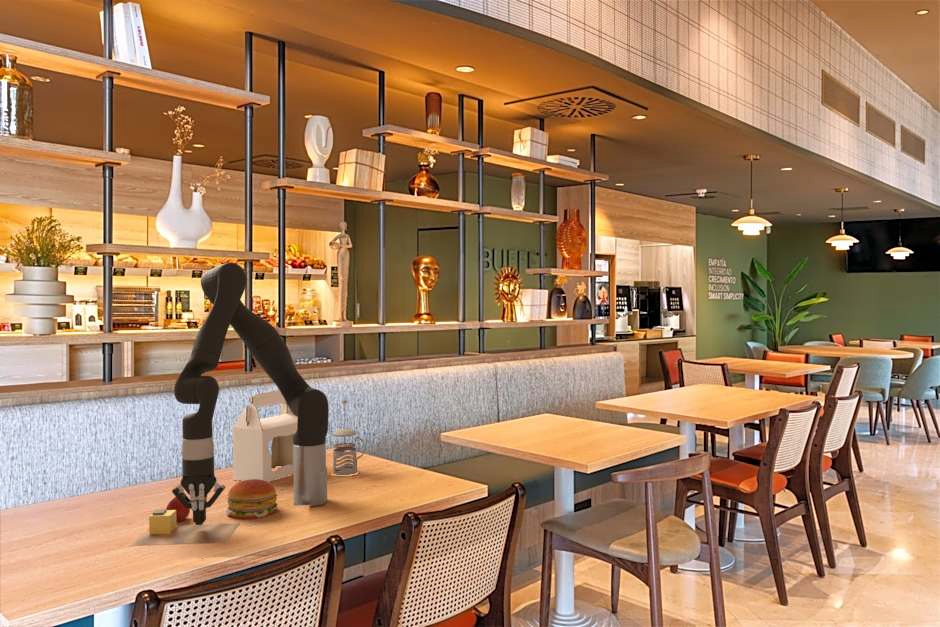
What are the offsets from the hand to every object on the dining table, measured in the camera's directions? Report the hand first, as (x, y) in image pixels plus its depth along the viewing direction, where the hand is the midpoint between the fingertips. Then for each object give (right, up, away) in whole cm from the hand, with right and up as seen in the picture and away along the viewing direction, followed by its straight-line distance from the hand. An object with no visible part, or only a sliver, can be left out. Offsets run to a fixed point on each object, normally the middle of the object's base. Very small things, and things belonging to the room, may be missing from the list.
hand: (199, 523), depth 186 cm
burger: (+9, -3, +15) cm, 18 cm away
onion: (-9, -3, +9) cm, 13 cm away
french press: (+27, -1, +64) cm, 69 cm away
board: (-2, -3, -5) cm, 6 cm away
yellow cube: (-9, -2, -1) cm, 9 cm away
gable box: (+1, -2, +62) cm, 62 cm away
